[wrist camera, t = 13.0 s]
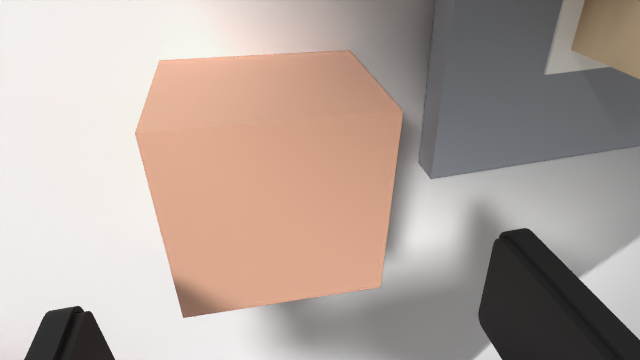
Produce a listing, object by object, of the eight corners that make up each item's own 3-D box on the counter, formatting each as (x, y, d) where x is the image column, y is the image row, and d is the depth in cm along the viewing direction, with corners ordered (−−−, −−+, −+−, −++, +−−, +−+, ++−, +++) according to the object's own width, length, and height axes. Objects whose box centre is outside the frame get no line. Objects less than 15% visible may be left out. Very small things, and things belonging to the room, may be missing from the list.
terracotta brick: (160, 59, 13) (134, 133, 9) (348, 49, 14) (403, 111, 10) (191, 212, 16) (183, 317, 12) (341, 195, 17) (380, 287, 13)
